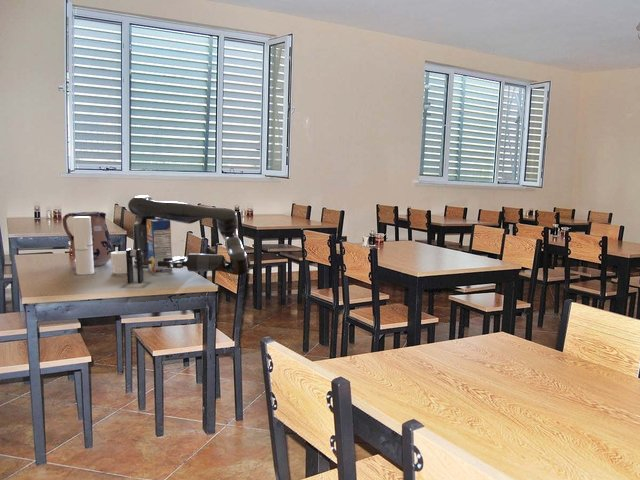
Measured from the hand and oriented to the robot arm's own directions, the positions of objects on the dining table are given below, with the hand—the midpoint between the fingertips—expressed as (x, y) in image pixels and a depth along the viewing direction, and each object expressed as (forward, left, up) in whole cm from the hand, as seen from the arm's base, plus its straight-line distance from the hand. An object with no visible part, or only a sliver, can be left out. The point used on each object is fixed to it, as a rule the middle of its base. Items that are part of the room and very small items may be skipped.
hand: (160, 262), depth 275 cm
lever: (+6, -7, +2) cm, 10 cm away
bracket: (+11, -7, -8) cm, 15 cm away
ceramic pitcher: (-36, -43, -8) cm, 57 cm away
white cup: (-11, -20, -8) cm, 24 cm away
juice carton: (-17, -5, -8) cm, 20 cm away
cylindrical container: (-15, -37, -8) cm, 41 cm away
